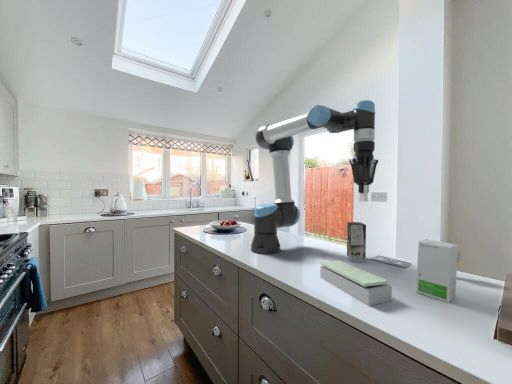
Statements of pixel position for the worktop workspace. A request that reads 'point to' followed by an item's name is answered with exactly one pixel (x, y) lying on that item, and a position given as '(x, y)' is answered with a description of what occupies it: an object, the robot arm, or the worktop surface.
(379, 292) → the white u-shaped channel
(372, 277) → the cover
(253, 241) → the robot arm
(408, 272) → the worktop surface
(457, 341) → the worktop surface
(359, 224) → the coffee box
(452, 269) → the skincare box
